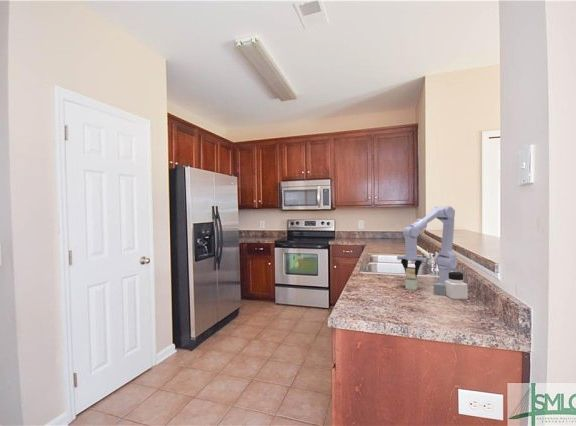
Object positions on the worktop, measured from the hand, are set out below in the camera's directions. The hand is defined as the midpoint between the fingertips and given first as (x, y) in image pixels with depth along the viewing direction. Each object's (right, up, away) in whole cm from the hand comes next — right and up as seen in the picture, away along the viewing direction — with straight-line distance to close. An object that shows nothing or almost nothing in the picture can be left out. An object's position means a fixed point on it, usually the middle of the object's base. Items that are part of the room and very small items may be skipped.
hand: (411, 274), depth 151 cm
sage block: (0, -8, 0) cm, 8 cm away
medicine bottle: (+14, -8, -17) cm, 23 cm away
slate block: (+9, -8, -11) cm, 16 cm away
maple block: (0, -2, 0) cm, 2 cm away
